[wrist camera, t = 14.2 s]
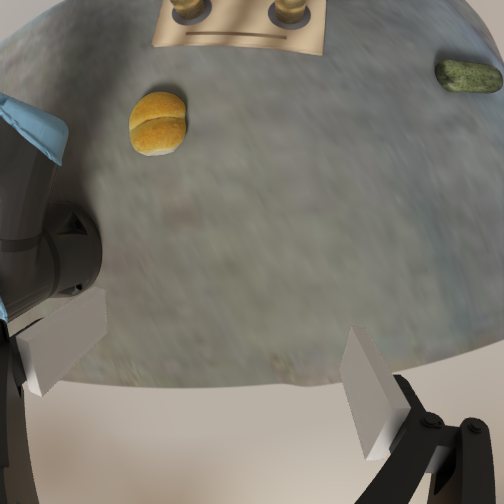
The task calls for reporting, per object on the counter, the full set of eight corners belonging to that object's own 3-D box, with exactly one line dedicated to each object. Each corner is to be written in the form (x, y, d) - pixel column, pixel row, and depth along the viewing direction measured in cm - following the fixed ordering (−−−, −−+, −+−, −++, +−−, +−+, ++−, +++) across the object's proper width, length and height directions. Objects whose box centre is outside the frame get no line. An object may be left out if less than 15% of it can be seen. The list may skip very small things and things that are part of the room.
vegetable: (436, 95, 35) (452, 87, 30) (426, 64, 34) (441, 53, 29) (497, 97, 34) (514, 91, 29) (488, 69, 33) (504, 61, 28)
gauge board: (154, 47, 36) (151, 43, 35) (170, -12, 34) (168, -16, 32) (321, 55, 35) (322, 52, 34) (325, -6, 33) (326, -11, 31)
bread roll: (186, 90, 38) (178, 81, 34) (189, 151, 40) (180, 148, 36) (132, 100, 38) (120, 94, 35) (134, 159, 40) (121, 157, 36)
